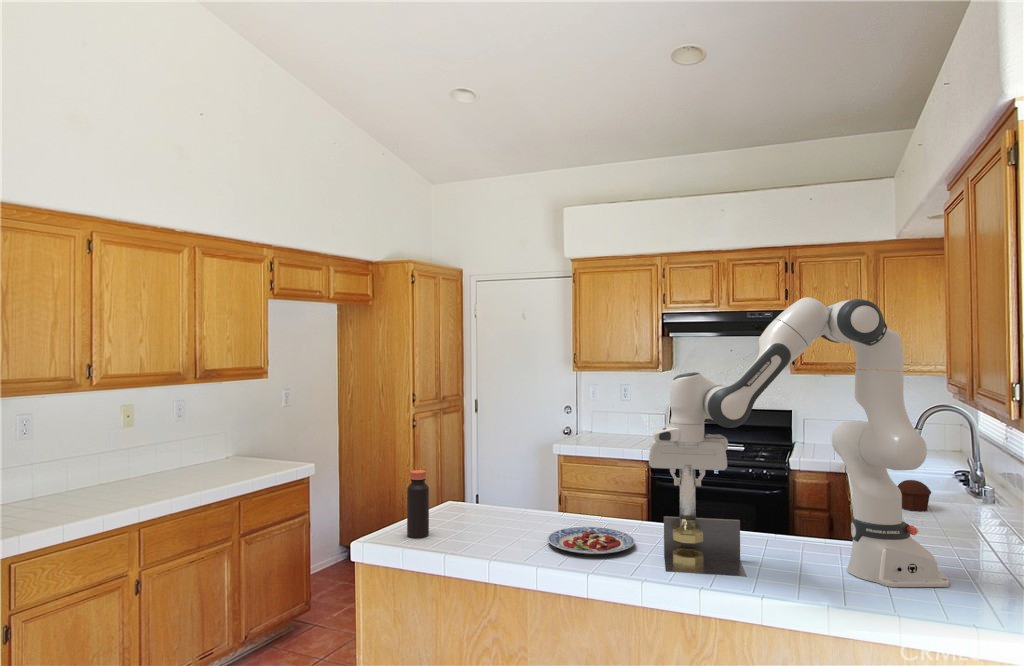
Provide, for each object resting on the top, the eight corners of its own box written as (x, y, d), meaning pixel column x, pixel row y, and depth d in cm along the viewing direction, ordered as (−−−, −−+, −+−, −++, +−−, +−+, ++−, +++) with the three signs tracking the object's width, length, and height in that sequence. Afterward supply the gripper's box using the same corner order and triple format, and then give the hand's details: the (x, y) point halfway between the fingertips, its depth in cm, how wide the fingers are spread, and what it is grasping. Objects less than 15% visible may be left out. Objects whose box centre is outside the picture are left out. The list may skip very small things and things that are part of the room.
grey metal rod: (695, 525, 177) (694, 462, 177) (696, 530, 173) (696, 465, 173) (679, 525, 178) (678, 461, 178) (680, 529, 174) (679, 464, 174)
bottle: (422, 539, 202) (422, 474, 203) (403, 537, 205) (403, 472, 205) (432, 533, 209) (432, 470, 209) (413, 531, 211) (413, 468, 211)
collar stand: (739, 564, 179) (739, 519, 179) (747, 581, 166) (746, 533, 166) (664, 559, 183) (663, 516, 183) (665, 576, 170) (665, 529, 170)
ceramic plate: (584, 529, 214) (584, 519, 214) (652, 546, 196) (652, 536, 196) (529, 546, 196) (529, 536, 196) (598, 566, 178) (598, 555, 178)
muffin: (891, 503, 245) (890, 476, 245) (924, 505, 242) (924, 478, 243) (901, 511, 234) (900, 483, 234) (936, 513, 231) (936, 485, 231)
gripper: (726, 432, 177) (726, 484, 177) (648, 431, 181) (648, 481, 181) (729, 436, 171) (729, 489, 170) (648, 434, 175) (649, 486, 174)
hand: (687, 485), depth 175 cm, fingers closed on grey metal rod, 4 cm apart
